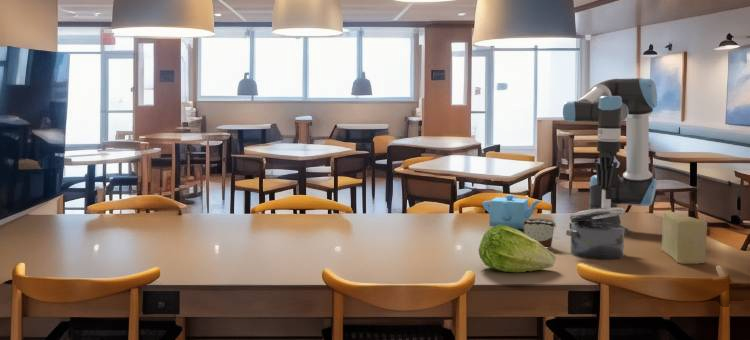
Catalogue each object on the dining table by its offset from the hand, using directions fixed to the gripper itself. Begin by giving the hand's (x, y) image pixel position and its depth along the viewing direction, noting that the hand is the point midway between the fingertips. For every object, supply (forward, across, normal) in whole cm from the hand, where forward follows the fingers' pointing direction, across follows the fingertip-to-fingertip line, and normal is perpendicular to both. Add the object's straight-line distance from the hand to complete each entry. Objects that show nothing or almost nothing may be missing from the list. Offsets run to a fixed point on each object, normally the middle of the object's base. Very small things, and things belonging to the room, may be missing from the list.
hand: (605, 208), depth 246 cm
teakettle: (+18, -56, -8) cm, 59 cm away
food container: (+18, -22, -13) cm, 31 cm away
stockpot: (+17, -6, 0) cm, 18 cm away
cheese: (+18, +6, +25) cm, 31 cm away
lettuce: (+18, +10, -39) cm, 44 cm away
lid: (+5, -6, 0) cm, 7 cm away
